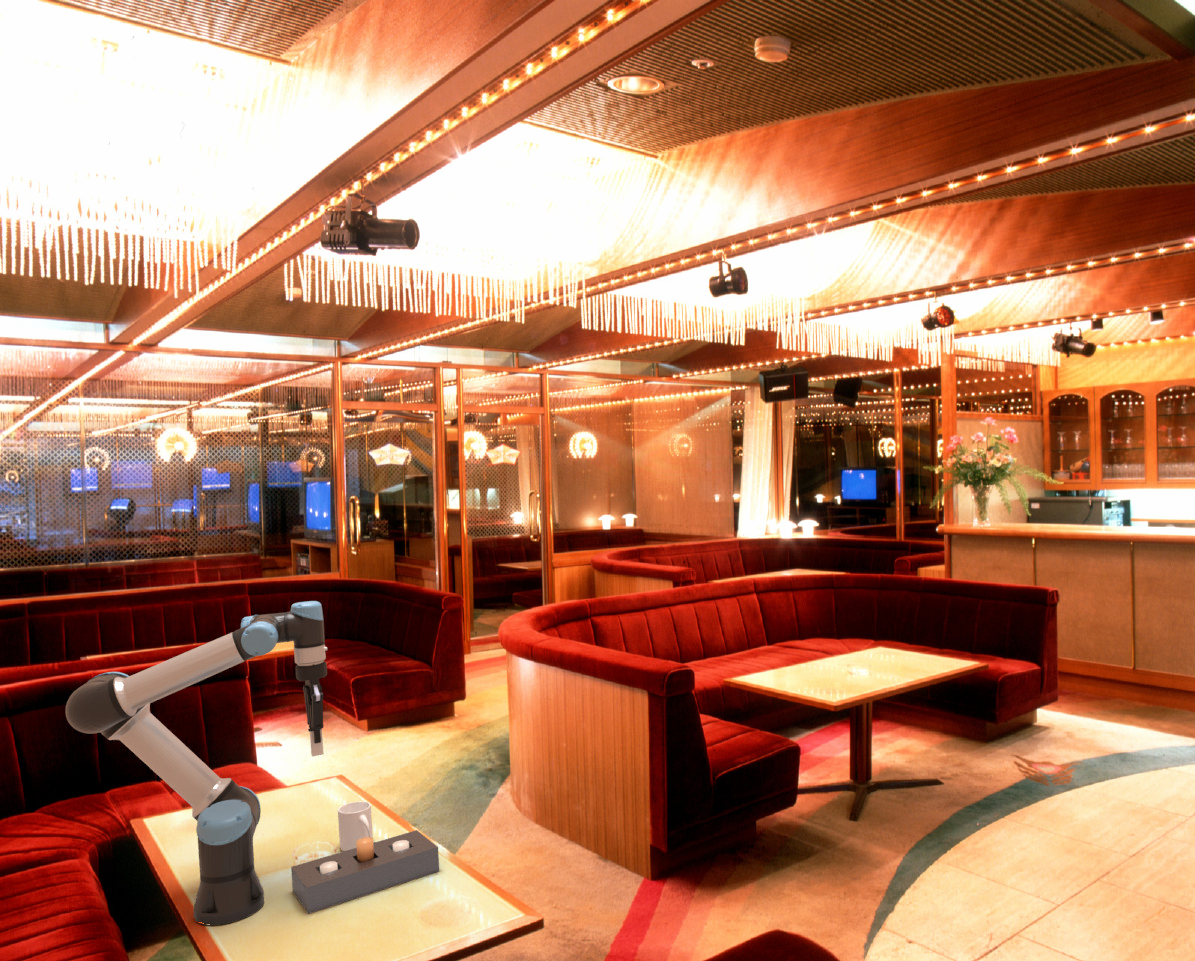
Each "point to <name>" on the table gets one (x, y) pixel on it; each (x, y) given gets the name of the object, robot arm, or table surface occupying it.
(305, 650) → the robot arm
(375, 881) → the panel
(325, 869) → the knob near
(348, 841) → the mug
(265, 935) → the table surface
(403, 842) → the cream rounded knob
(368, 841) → the knob mid
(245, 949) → the table surface
